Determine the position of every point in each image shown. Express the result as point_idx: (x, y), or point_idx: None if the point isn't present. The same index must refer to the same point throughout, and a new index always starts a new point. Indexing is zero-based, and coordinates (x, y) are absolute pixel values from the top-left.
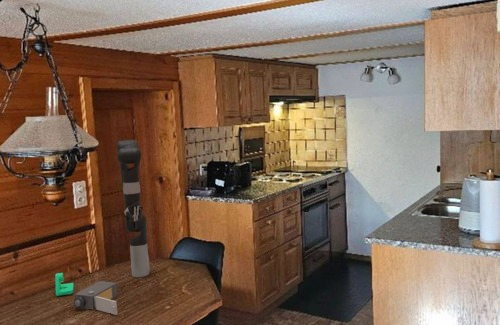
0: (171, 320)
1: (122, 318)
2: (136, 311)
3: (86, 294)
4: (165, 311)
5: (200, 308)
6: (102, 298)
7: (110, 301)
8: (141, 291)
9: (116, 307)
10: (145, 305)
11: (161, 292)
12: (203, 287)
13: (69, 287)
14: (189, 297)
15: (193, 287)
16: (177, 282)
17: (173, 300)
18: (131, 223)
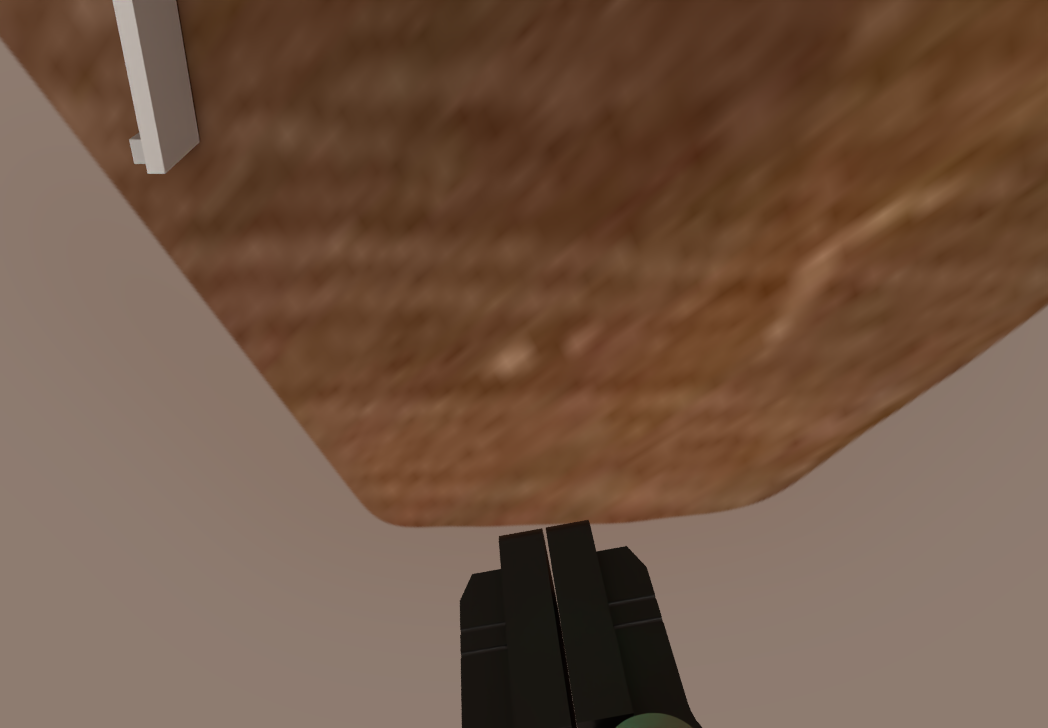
0: (359, 500)
1: (186, 225)
2: (334, 226)
3: None
4: (441, 395)
5: None
6: None
7: (137, 108)
8: None
9: (178, 157)
10: (452, 205)
11: (727, 128)
12: (904, 348)
13: None
14: (704, 378)
15: (890, 287)
16: (979, 92)
17: (618, 321)
18: (465, 723)
